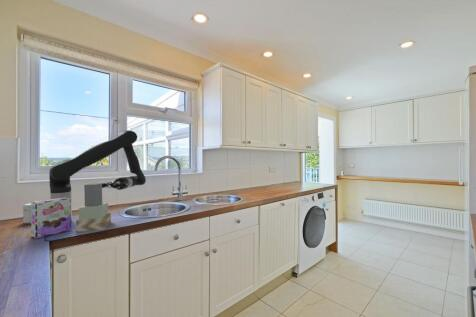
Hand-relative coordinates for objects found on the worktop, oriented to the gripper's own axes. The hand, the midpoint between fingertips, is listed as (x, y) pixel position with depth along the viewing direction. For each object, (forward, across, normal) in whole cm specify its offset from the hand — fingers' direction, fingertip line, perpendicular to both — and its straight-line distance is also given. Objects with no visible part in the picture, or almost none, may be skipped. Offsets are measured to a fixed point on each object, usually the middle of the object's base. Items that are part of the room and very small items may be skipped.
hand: (106, 186), depth 125 cm
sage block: (+10, 0, +14) cm, 18 cm away
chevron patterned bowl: (+10, 0, +20) cm, 23 cm away
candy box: (+20, -13, +20) cm, 32 cm away
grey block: (+10, 0, +8) cm, 13 cm away
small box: (+3, -42, +20) cm, 47 cm away
